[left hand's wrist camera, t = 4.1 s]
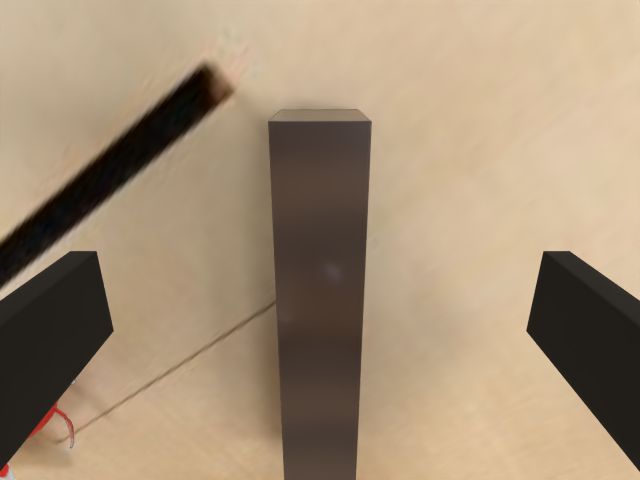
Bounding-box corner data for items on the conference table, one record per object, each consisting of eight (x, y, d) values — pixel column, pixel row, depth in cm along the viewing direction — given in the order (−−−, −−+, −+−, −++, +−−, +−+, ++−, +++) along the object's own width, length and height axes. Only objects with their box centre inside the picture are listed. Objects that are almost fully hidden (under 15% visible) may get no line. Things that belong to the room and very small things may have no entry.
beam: (280, 109, 27) (268, 120, 20) (359, 109, 27) (371, 120, 20) (291, 439, 37) (285, 517, 30) (348, 439, 37) (354, 517, 30)
